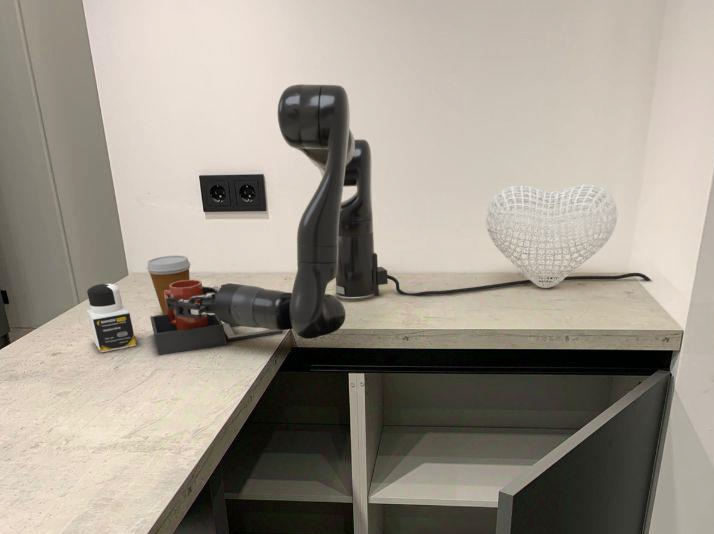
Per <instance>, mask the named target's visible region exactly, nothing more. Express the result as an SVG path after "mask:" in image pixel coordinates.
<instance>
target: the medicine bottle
mask: <svg viewBox="0 0 714 534" xmlns="http://www.w3.org/2000/svg"><path fill="white" fill-rule="evenodd" d="M86 293H87V298H88V302H89V306H90V308H89V309H87V310H86V314H87V317H88V318H87V319H88V322H89V326H90V330H91V335H92V338H93V342H94V344H95V346H96V347H97V349H98V351H99V352H100V353H105V352H110V351H116V350H121V349H127V348H131V347H135V346H137V342H136V337H135V331H134V327H133V323H132V318H131V314H130V311H129V310H128V309H127V308H126V307H125V306H124V305H123V301H122V296H121V292H120V287H119V286H118V285H116V284H113V283H100V284H96V285H95V284H94V285H92V286H91V287H89V288H88V289H87V290H86Z"/></svg>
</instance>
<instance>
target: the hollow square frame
mask: <svg viewBox="0 0 714 534" xmlns="http://www.w3.org/2000/svg"><path fill="white" fill-rule="evenodd" d="M222 324H223V327H224V333H225V337H226V338H227V340H228V341H229V342H232V341H238V340H244V339H251V338H258V337H265V336H271V335H279V334H283V330H273V329H267V330H260V331H253V332H247V333H240V334H239V333H238V334H235V332H234V331H233V329H232V328H233V327H239V325H232V324H226V323H224V322H222Z"/></svg>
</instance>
